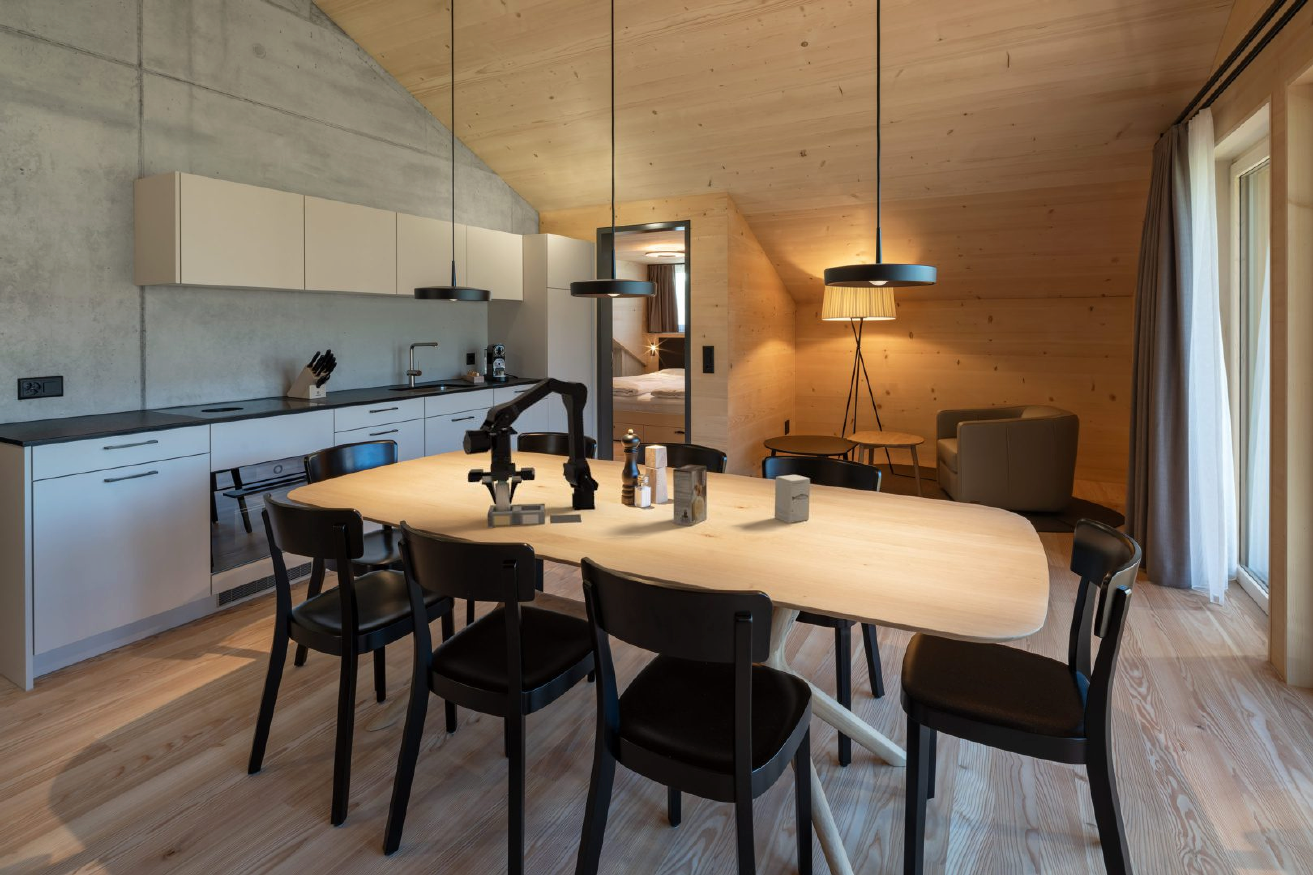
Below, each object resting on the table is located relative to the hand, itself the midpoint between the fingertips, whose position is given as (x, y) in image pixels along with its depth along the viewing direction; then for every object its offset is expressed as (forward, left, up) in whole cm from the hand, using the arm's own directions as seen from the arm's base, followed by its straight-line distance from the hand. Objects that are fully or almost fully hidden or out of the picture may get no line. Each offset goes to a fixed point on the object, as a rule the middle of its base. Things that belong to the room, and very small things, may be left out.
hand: (503, 503), depth 214 cm
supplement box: (-84, +9, -6) cm, 85 cm away
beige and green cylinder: (0, 0, -2) cm, 2 cm away
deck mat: (-18, 0, -6) cm, 19 cm away
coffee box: (-54, +7, -6) cm, 55 cm away
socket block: (-4, 0, -6) cm, 7 cm away
